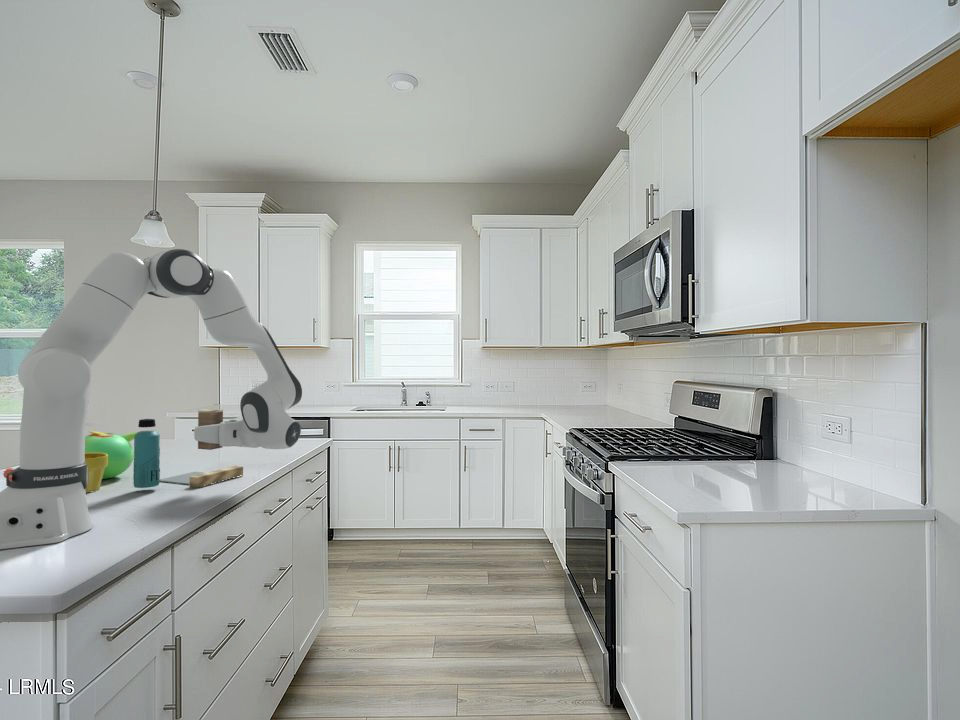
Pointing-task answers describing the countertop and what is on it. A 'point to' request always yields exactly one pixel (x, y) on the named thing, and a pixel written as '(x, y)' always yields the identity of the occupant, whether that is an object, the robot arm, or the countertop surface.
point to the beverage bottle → (146, 456)
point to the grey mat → (181, 478)
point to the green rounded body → (112, 450)
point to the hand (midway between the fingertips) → (208, 428)
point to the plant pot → (95, 469)
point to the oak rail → (215, 476)
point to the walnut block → (209, 419)
